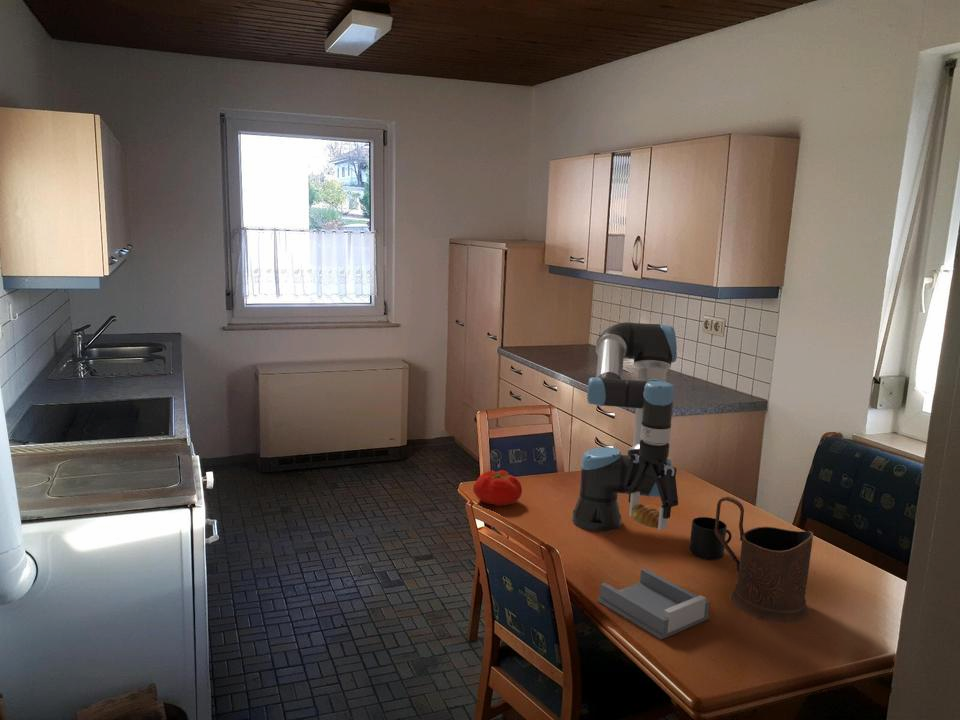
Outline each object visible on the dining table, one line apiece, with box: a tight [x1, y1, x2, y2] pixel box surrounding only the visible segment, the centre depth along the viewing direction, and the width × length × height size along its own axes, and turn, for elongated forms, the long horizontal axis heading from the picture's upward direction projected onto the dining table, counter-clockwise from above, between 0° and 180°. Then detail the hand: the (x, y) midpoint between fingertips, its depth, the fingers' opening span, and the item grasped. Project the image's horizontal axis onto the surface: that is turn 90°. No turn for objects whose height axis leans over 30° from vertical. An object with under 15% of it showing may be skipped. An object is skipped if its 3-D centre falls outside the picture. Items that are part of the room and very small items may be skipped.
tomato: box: [472, 469, 523, 507], centre depth 243 cm, size 14×16×10 cm
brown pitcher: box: [715, 496, 814, 625], centre depth 183 cm, size 18×24×25 cm
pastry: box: [631, 503, 659, 529], centre depth 196 cm, size 9×7×4 cm
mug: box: [689, 516, 732, 561], centre depth 211 cm, size 9×12×9 cm
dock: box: [597, 568, 710, 640], centre depth 178 cm, size 20×17×6 cm
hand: (647, 521), depth 196 cm, fingers closed on pastry, 9 cm apart
